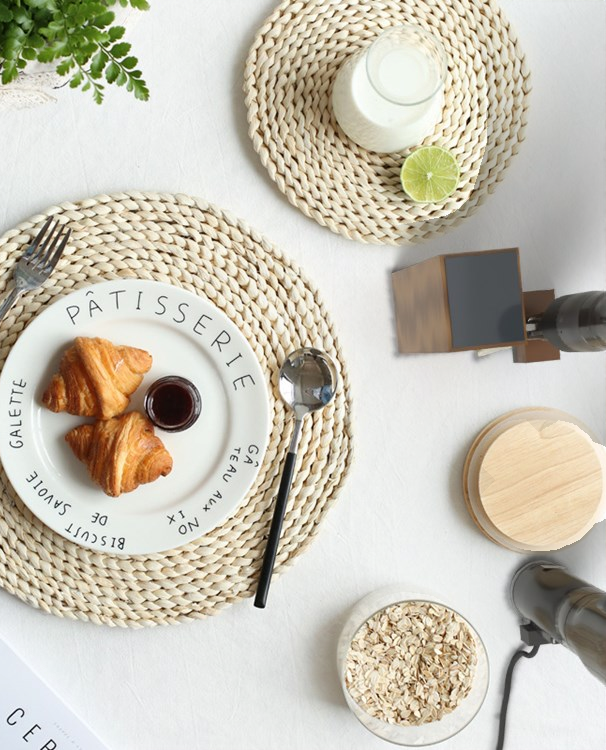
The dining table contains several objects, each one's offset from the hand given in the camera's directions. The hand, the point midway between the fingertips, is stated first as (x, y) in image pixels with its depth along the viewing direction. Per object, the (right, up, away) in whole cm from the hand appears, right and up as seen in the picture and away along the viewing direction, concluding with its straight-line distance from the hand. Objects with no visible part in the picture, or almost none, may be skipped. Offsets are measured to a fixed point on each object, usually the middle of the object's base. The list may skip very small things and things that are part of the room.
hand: (528, 327), depth 120 cm
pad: (-12, +2, -19) cm, 22 cm away
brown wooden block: (0, 0, 0) cm, 0 cm away
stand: (-14, +3, +3) cm, 14 cm away
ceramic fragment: (-1, 0, +5) cm, 5 cm away
